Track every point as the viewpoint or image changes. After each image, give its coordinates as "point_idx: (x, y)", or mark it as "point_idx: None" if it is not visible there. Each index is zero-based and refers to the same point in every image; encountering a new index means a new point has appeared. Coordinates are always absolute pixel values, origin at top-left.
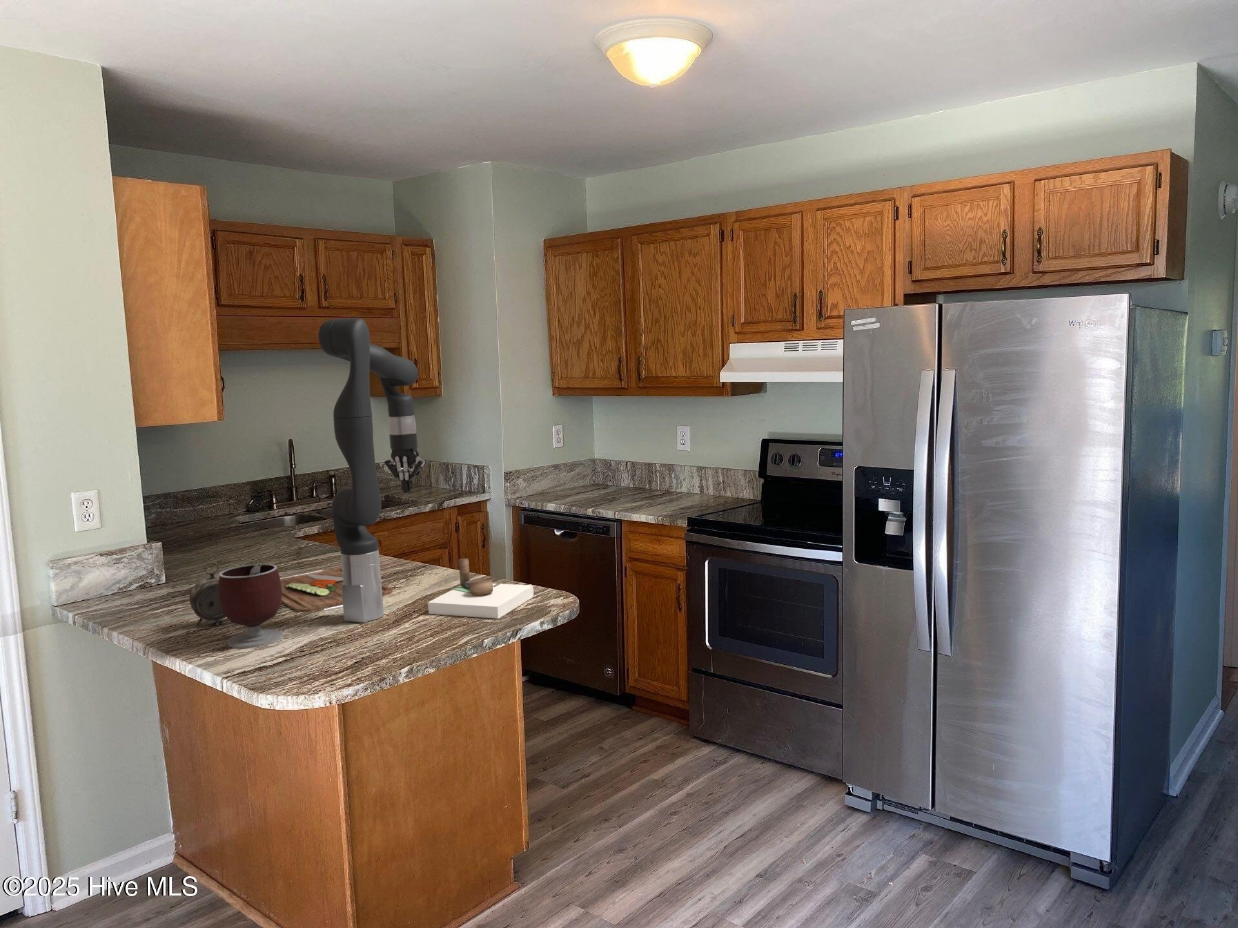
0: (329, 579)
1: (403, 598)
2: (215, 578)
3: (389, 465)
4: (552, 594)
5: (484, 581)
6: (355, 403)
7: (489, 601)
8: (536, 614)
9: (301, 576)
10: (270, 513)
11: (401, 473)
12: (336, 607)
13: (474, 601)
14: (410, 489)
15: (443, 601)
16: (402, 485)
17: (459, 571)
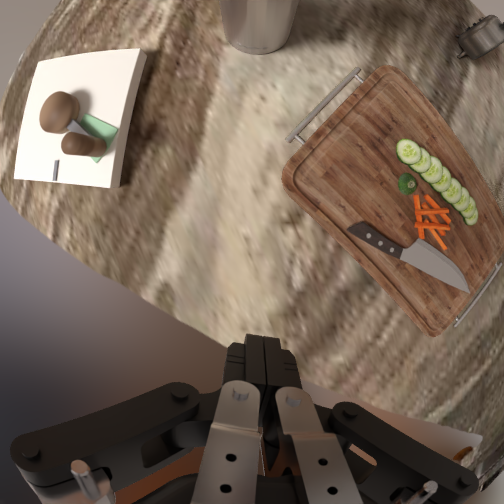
0: (432, 253)
1: (235, 138)
2: (498, 25)
3: (431, 472)
4: (9, 192)
5: (50, 119)
6: None
7: (49, 79)
8: (13, 98)
9: (474, 284)
10: (487, 477)
11: (296, 427)
12: (343, 79)
13: (68, 73)
14: (228, 350)
15: (114, 59)
16: (289, 370)
17: (91, 138)
